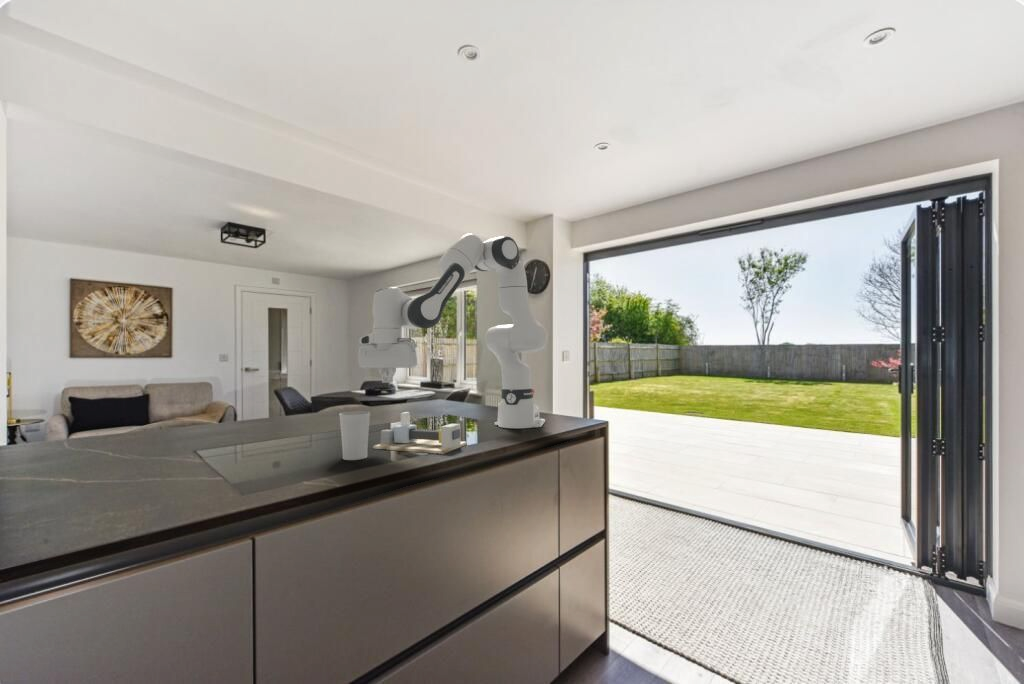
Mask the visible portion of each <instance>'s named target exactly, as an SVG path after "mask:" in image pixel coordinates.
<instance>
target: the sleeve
mask: <svg viewBox="0 0 1024 684" xmlns="http://www.w3.org/2000/svg"><path fill="white" fill-rule="evenodd" d="M417 426H418V425H417V424H411V413H410V411H405V412H400V424H399V425H394V426H393V428H394V442H396V443H410V442H414V441H417V439H409V429H417V430H418V427H417Z"/></svg>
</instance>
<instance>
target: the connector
mask: <svg viewBox="0 0 1024 684" xmlns="http://www.w3.org/2000/svg"><path fill="white" fill-rule="evenodd" d="M440 429H441V448H452V447H455V446H457V445H460V444H461V441H462V440H461V437H462V436H461V434H462V433H461V423H448V424H446V425H442V426H440Z"/></svg>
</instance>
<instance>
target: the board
mask: <svg viewBox="0 0 1024 684" xmlns="http://www.w3.org/2000/svg"><path fill="white" fill-rule="evenodd" d="M467 444H468V441H462V440H461V444H460V445H457V446H455V447H452V448H441V443H439V440H424V439H417V441H414V442H410V443H393V444H390V445H386V444H381V443H378V444H375V445H373V446H372V449H374V450H385V449H386V451H399V452H413V453H414V452H415V453H423V454H425V453H426V454H428V453H429V454H437V453H438V455H444V454H446V453H449V452H452V451H455V450H457V449H460V448H462V447H464V446H466V445H467Z"/></svg>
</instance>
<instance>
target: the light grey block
mask: <svg viewBox="0 0 1024 684" xmlns="http://www.w3.org/2000/svg"><path fill="white" fill-rule="evenodd" d="M393 443H396V442H394V430H390V429H387V428H386V429H382V430H380V444H386V445H390V444H393Z"/></svg>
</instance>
